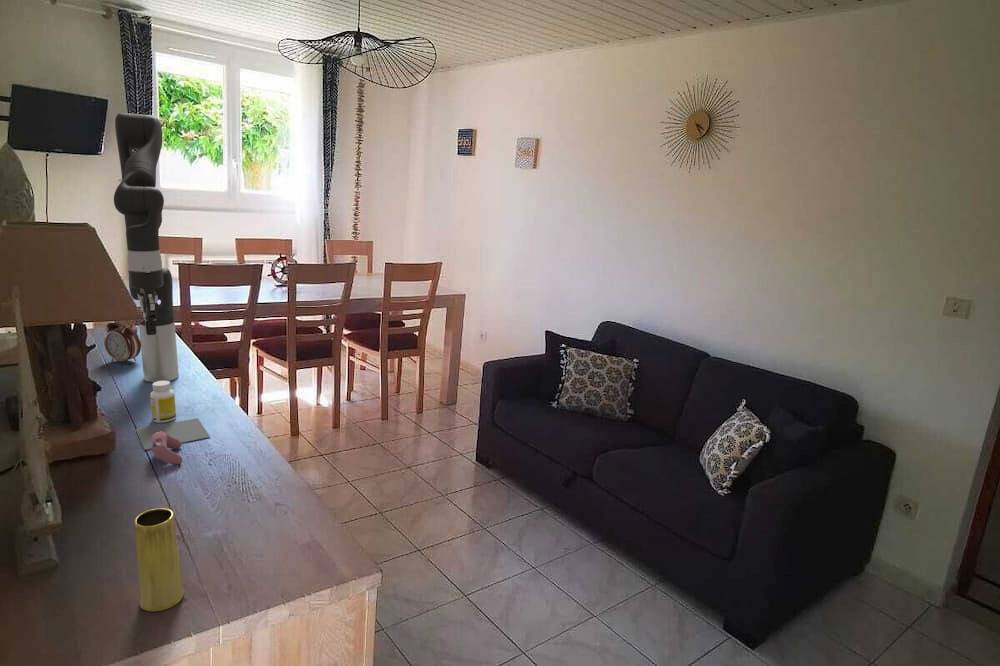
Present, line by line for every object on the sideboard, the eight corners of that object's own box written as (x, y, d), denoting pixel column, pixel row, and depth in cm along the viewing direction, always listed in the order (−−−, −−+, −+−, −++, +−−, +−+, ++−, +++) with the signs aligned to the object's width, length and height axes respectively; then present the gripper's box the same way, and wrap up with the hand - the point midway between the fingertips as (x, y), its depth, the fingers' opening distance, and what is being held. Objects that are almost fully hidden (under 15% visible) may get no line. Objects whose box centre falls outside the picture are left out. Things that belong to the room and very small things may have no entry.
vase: (142, 617, 93) (133, 533, 89) (136, 594, 97) (128, 513, 94) (187, 603, 96) (180, 521, 92) (180, 581, 101) (173, 502, 97)
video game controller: (164, 455, 145) (146, 432, 142) (183, 444, 146) (166, 421, 143) (164, 474, 136) (145, 450, 133) (184, 462, 138) (166, 438, 135)
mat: (135, 430, 153) (135, 429, 153) (197, 419, 161) (197, 418, 161) (144, 450, 143) (144, 449, 143) (210, 437, 151) (210, 436, 151)
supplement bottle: (180, 416, 162) (177, 380, 160) (167, 424, 157) (164, 387, 155) (160, 414, 163) (157, 378, 160) (147, 422, 158) (144, 385, 155)
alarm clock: (104, 361, 199) (99, 315, 195) (117, 357, 204) (113, 312, 200) (131, 366, 196) (127, 320, 192) (144, 362, 201) (140, 316, 197)
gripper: (124, 264, 160) (130, 329, 165) (132, 272, 150) (138, 342, 154) (157, 263, 165) (162, 326, 169) (167, 271, 154) (172, 338, 159)
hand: (151, 334), depth 162 cm, fingers closed
